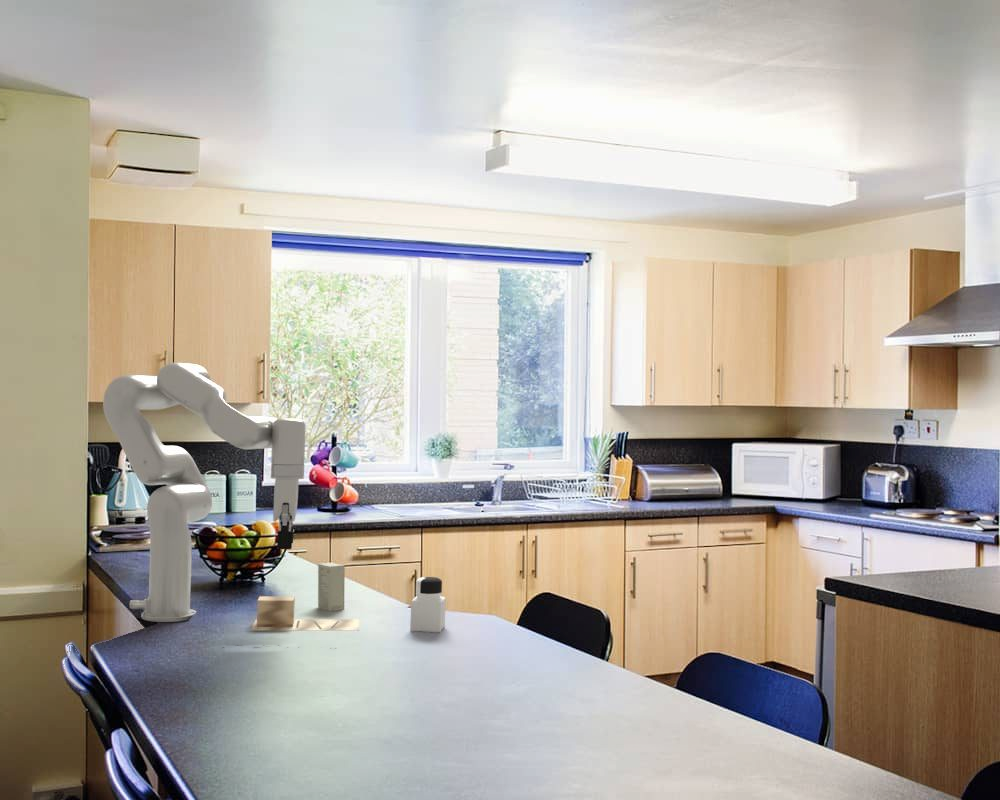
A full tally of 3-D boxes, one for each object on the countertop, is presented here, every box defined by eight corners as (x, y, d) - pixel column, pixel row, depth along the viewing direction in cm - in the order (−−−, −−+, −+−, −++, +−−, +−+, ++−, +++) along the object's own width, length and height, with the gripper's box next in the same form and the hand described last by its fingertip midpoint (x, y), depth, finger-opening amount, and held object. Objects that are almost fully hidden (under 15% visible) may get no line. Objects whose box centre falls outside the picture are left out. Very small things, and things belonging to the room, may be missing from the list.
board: (250, 635, 234) (250, 630, 234) (255, 624, 246) (255, 619, 246) (359, 635, 238) (359, 630, 238) (358, 624, 250) (359, 619, 250)
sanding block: (256, 626, 238) (257, 600, 238) (258, 622, 243) (259, 596, 243) (292, 626, 239) (293, 600, 239) (293, 622, 244) (294, 596, 244)
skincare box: (344, 614, 261) (346, 565, 262) (329, 615, 259) (330, 566, 259) (331, 609, 266) (333, 561, 266) (316, 611, 263) (317, 563, 264)
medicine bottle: (445, 626, 250) (446, 576, 250) (440, 632, 243) (441, 580, 243) (415, 625, 251) (416, 574, 251) (409, 631, 244) (411, 579, 244)
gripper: (272, 469, 251) (270, 541, 250) (268, 474, 233) (266, 551, 233) (304, 469, 252) (302, 541, 252) (303, 474, 235) (300, 551, 235)
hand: (285, 546), depth 243 cm, fingers open, 9 cm apart
